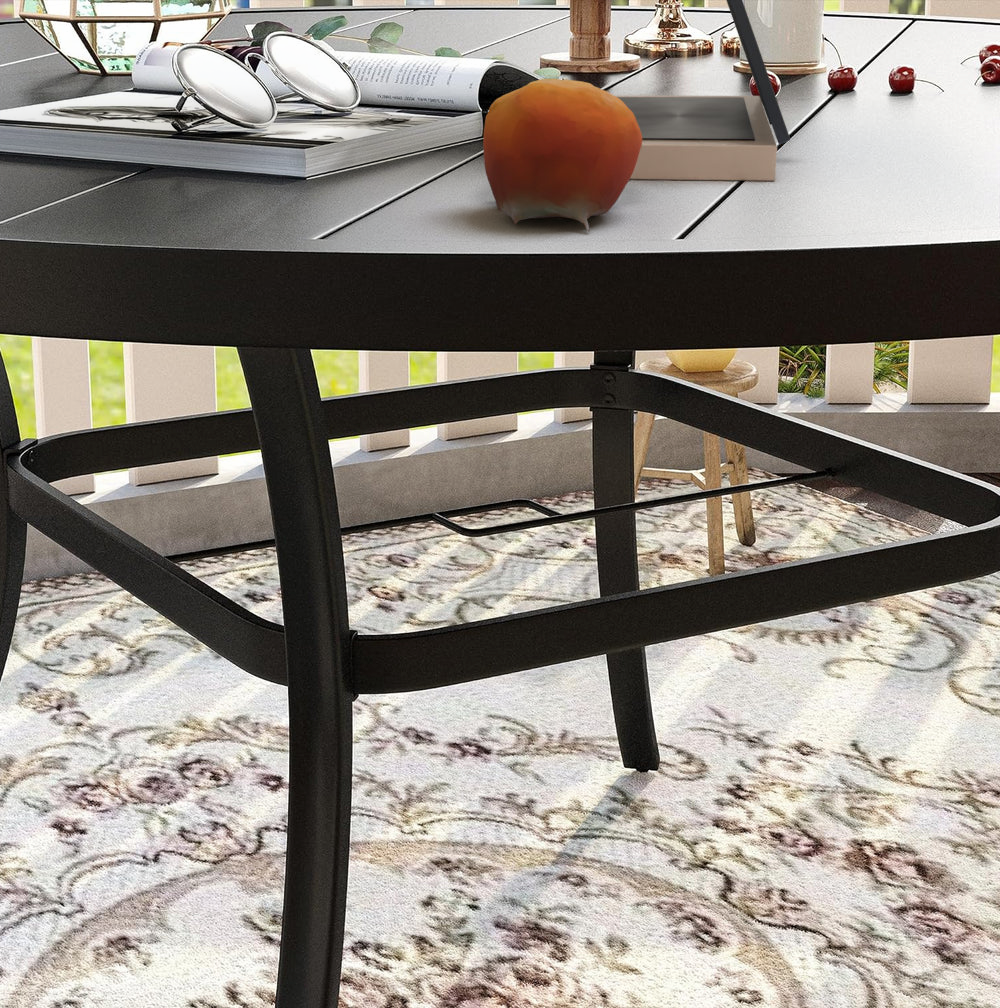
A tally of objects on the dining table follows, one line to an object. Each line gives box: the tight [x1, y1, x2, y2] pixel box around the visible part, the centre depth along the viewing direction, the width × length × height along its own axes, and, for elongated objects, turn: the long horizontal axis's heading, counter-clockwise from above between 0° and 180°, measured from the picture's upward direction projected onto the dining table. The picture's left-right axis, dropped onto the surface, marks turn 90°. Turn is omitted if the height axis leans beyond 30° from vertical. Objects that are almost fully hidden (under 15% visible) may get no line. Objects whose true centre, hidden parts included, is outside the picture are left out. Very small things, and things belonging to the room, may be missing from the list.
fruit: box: [482, 78, 642, 233], centre depth 71 cm, size 8×8×8 cm
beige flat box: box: [613, 94, 778, 182], centre depth 91 cm, size 15×22×2 cm
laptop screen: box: [725, 0, 791, 145], centre depth 88 cm, size 15×22×1 cm
